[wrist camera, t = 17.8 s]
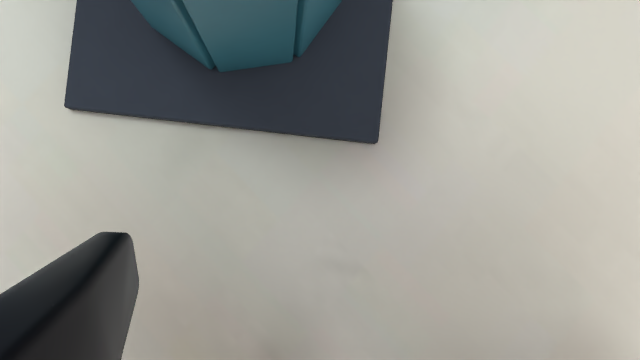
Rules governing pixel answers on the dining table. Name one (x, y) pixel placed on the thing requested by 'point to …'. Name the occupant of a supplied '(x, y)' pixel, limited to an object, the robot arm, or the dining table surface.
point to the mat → (233, 75)
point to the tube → (238, 28)
